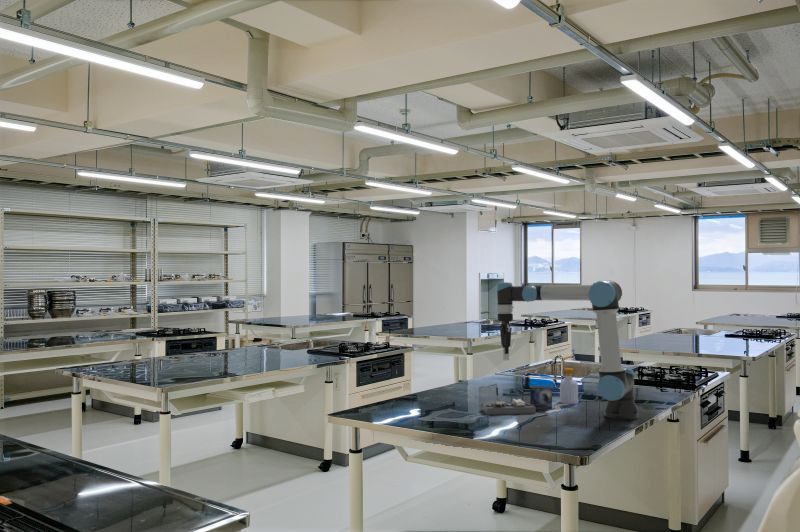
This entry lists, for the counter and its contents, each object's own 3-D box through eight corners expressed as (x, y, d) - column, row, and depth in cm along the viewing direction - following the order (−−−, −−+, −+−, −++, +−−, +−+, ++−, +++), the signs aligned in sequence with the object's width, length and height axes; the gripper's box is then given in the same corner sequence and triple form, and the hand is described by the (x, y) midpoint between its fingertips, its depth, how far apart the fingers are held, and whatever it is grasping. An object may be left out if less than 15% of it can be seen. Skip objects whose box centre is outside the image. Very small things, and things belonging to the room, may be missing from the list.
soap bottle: (578, 404, 321) (578, 357, 322) (560, 404, 323) (560, 356, 324) (577, 401, 330) (577, 354, 331) (559, 400, 332) (559, 354, 332)
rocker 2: (524, 405, 303) (524, 402, 303) (517, 405, 303) (517, 402, 303) (519, 401, 311) (519, 398, 311) (512, 401, 311) (512, 398, 311)
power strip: (551, 412, 303) (551, 403, 303) (487, 414, 300) (487, 405, 300) (544, 408, 313) (544, 399, 313) (482, 410, 310) (482, 400, 310)
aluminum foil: (624, 382, 387) (624, 377, 387) (619, 384, 383) (619, 378, 383) (591, 378, 404) (591, 373, 404) (585, 379, 399) (585, 374, 399)
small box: (530, 408, 314) (530, 387, 314) (530, 405, 320) (529, 385, 320) (552, 409, 312) (552, 388, 312) (551, 406, 319) (551, 385, 319)
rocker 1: (504, 403, 302) (504, 400, 302) (497, 403, 302) (496, 401, 302) (500, 403, 310) (500, 400, 310) (493, 403, 309) (493, 401, 310)
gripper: (516, 313, 307) (517, 361, 307) (508, 312, 320) (509, 358, 320) (501, 313, 306) (502, 362, 306) (494, 312, 319) (495, 358, 319)
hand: (506, 360), depth 313 cm, fingers closed
